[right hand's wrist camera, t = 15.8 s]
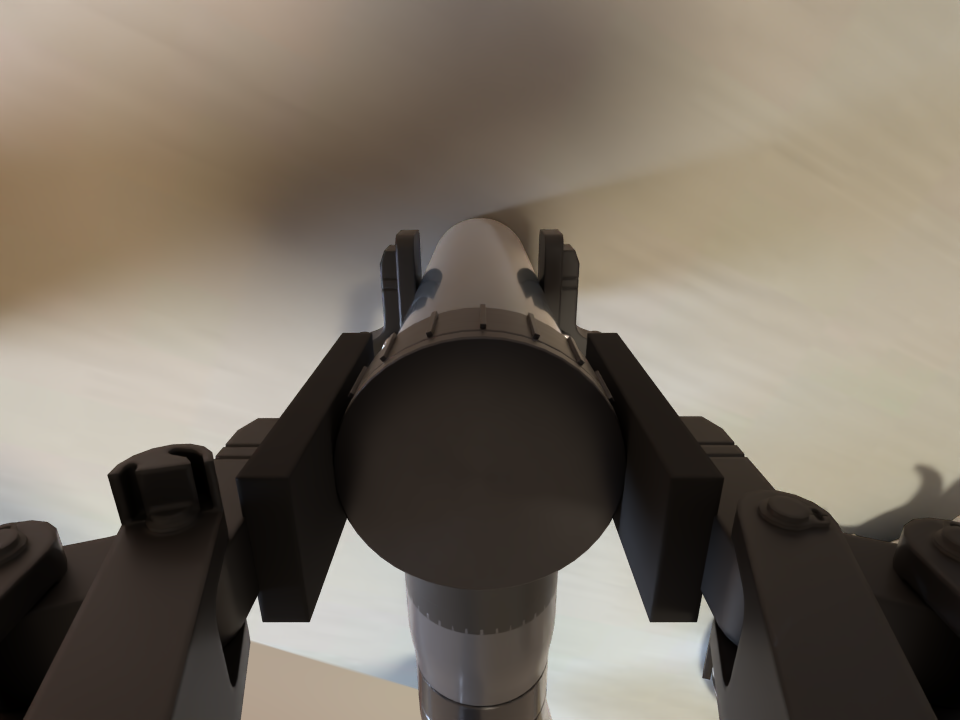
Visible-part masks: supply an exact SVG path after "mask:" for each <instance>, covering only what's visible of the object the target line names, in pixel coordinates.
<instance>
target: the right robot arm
mask: <svg viewBox="0 0 960 720" xmlns="http://www.w3.org/2000/svg"><path fill="white" fill-rule="evenodd" d="M373 359H374V349H373V336H372V333H342V335H341V336H340V337H339V339H338V340H337V341H336V343H335V344H334V345H333V347H332V348H331V349H330V351H329V352H328V353H327V355H326V356H325V357H324V359H323V360H322V361H321V363H320V364H319V366H318V367H317V368H316V370H315V371H314V372H313V374H312V375H311V376H310V378H309V379H308V380H307V382H306V383H305V384H304V386H303V387H302V388H301V390H300V391H299V392H298V394H297V395H296V397H295V398H294V399H293V401H292V402H291V403H290V405H289V406H288V407H287V409H286V410H285V411H284V413H283V414H282V415H281V417H280V418H258V419H256V420H254V421H253V422H251V423H249V424H248V425H246V426H244V427H243V428H241V429H239V430H238V431H237V432H236V433H235V434H234V435H233V436H232V438H231V439H230V440H229V441H228V442H227V443H226V447H223V448H222V449H221V450H220V452H219V453H218V454H217V455H216V459H213V454H212V452H211V451H210V450H208V449H207V448H206V447H204V446H199V445H194V444H173V445H168V446H163V447H158V448H153V449H150V450H147V451H145V452H142V453H139V454H136V455H134V456H132V457H130V458H128V459H127V460H125V461H123V462H121V463H120V464H118V465H117V466H116V467H115V468H114V469H113V470H112V471H111V472H110V473H109V474H108V479H109V482H110V486H111V489H112V493H113V496H114V500H115V503H116V506H117V510H118V513H119V517H120V520H121V524H122V526H121V528H120V530H119V532H118V534H117V535H115V536H111V537H107V538H102V539H97V540H92V541H86V542H81V543H76V544H71V545H66V546H62V543H61V540H60V537H59V534H58V532H57V529H56V528H55V527H54V526H52V525H51V524H50V523H48V522H42V521H33V520H31V521H23V522H16V523H8V524H3V525H0V720H241V712H242V704H243V696H244V688H245V680H246V673H247V665H248V657H249V649H250V637H249V630H248V625H247V620H246V618H247V616H248V614H249V612H250V610H251V608H252V606H253V604H254V602H255V600H256V598H257V596H258V600H259V606H260V611H261V616H262V621H263V622H310V620H311V617H312V614H313V611H314V609H315V606H316V603H317V600H318V597H319V595H320V592H321V589H322V586H323V583H324V581H325V578H326V575H327V572H328V570H329V567H330V564H331V561H332V558H333V556H334V553H335V550H336V547H337V544H338V542H339V539H340V536H341V533H342V531H343V528H344V525H345V522H346V519H347V517H346V514H345V512H344V510H343V508H342V506H341V504H340V501H339V498H338V494H337V491H336V486H335V477H334V468H333V450H334V443H335V438H336V434H337V431H338V428H339V425H340V422H341V420H342V418H343V415H344V413H345V411H346V409H347V407H348V405H349V403H350V401H351V399H352V398H350V397H348V395H349V393H350V391H351V390H352V388H353V386H354V384H355V382H356V380H357V378H358V376H359V375H360V373H361V371H362V369H363V367H364V366H366V367H369V365H370V364H371V362H372V361H373ZM586 359H587V361H588V362H589V364H590V365H591V367H592V369H593V370H594V372H595V371H597V370H598V371H599V373H600V375H601V377H602V379H603V380H604V382H605V384H606V386H607V388H608V390H609V392H610V394H611V395H612V397H613V399H614V402H612V403H611V405H612V407H613V409H614V411H615V413H616V415H617V418H618V420H619V422H620V425H621V427H622V431H623V435H624V439H625V443H626V451H627V465H626V474H625V483H624V491H623V495H622V498H621V500H620V503H619V506H618V508H617V511H616V513H615V514H614V516H613V520H614V523H615V526H616V529H617V531H618V534H619V537H620V540H621V543H622V545H623V548H624V551H625V554H626V557H627V559H628V562H629V565H630V568H631V570H632V573H633V576H634V579H635V582H636V584H637V587H638V590H639V593H640V596H641V598H642V601H643V604H644V607H645V610H646V612H647V615H648V618H649V621H650V622H697V619H698V614H699V609H700V604H701V598H702V594H703V596H704V598H705V600H706V602H707V604H708V606H709V608H710V610H711V612H712V614H713V616H714V620H713V625H712V630H711V635H710V640H709V645H708V650H707V654H706V659H705V664H704V670H703V677H702V678H705V679H709V680H710V677H711V672H712V668H713V671H714V679H715V687H716V695H717V703H718V711H719V719H720V720H960V522H956V521H951V520H942V519H934V518H922V519H913V520H911V521H910V522H908V523H907V524H906V525H904V527H903V530H902V533H901V536H900V539H899V542H898V544H897V543H891V542H886V541H881V540H876V539H871V538H866V537H861V536H856V535H851V534H847V533H843V532H842V531H841V529H840V527H839V525H838V523H837V522H836V521H835V520H834V518H833V517H832V516H831V515H830V514H829V513H828V512H827V511H825V510H824V509H822V508H821V507H819V506H818V505H817V504H815V503H813V502H811V501H809V500H806V499H804V498H802V497H799V496H797V495H794V494H790V493H785V492H781V491H777V490H775V489H774V488H773V487H772V485H771V484H770V483H769V482H768V481H767V480H766V479H765V477H764V476H763V475H762V474H761V473H760V472H759V470H758V469H757V468H756V467H755V466H754V465H753V464H752V462H751V461H750V460H749V459H748V458H747V457H745V456H744V453H743V452H742V451H741V450H740V448H739V447H738V446H737V445H734V442H733V440H732V439H731V438H730V437H729V436H728V435H727V433H726V432H725V431H724V430H723V429H722V428H721V427H719V426H717V425H715V424H714V423H712V422H710V421H709V420H707V419H705V418H704V417H702V416H678V415H677V413H676V412H675V410H674V409H673V408H672V406H671V405H670V404H669V402H668V401H667V400H666V398H665V397H664V396H663V394H662V393H661V392H660V390H659V389H658V388H657V386H656V385H655V384H654V382H653V381H652V379H651V378H650V377H649V375H648V374H647V373H646V371H645V370H644V369H643V367H642V366H641V365H640V363H639V362H638V361H637V359H636V358H635V357H634V355H633V354H632V353H631V351H630V350H629V349H628V347H627V346H626V344H625V343H624V342H623V340H622V339H621V338H620V336H619V335H618V334H617V333H587V344H586Z"/></svg>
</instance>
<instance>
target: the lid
mask: <svg viewBox="0 0 960 720" xmlns="http://www.w3.org/2000/svg"><path fill="white" fill-rule="evenodd" d="M348 397H350V398H352V399H351V401H350V403H349V405H348V407H347V409H346V411H345V413H344V415H343V418H342V420H341V422H340V425H339V428H338V431H337V434H336V438H335V443H334V450H333V468H334V477H335V486H336V491H337V494H338V498H339V501H340V504H341V506H342V508H343V510H344V512H345V514H346V517H347V519H348V520H349V522H350V523H351V525H352V526H353V528H354V529H355V531H356V532H357V534H358V535H359V536H360V537H361V538H362V539H363V541H364V542H365V543H366V544H367V545H368V546H369V547H370V548H371V549H372V550H373V551H374V552H376V553H377V554H378V555H379V556H380V557H381V558H383V559H384V560H386V561H387V562H389V563H390V564H391V565H393V566H394V567H396V568H398V569H400V570H402V571H404V572H405V573H407V574H409V575H411V576H414V577H416V578H419V579H421V580H424V581H427V582H430V583H434V584H437V585H441V586H446V587H451V588H457V589H468V590H495V589H502V588H509V587H514V586H518V585H523V584H527V583H530V582H533V581H536V580H538V579H541V578H544V577H546V576H548V575H550V574H552V573H554V572H556V571H558V570H561V569H562V568H564V567H565V566H567V565H568V564H570V563H571V562H573V561H575V560H576V559H577V558H578V557H580V556H581V555H582V554H583V553H584V552H586V551H587V550H588V549H589V548H590V547H591V546H592V545H593V544H594V543H595V542H596V541H597V540H598V539H599V537H600V536H601V535H602V533H603V532H604V531H605V529H606V528H607V526H608V525H609V524H610V522H611V520H612V518H613V516H614V514H615V513H616V511H617V508H618V506H619V503H620V500H621V498H622V495H623V491H624V483H625V474H626V465H627V451H626V443H625V439H624V435H623V431H622V427H621V425H620V422H619V420H618V418H617V415H616V413H615V411H614V409H613V407H612V405H611V403H612V402H614V399H613V397H612V395H611V394H610V392H609V390H608V388H607V386H606V384H605V382H604V380H603V379H602V377H601V375H600V373H599V371H598V370H597V371H595V372H594V370H593V369H592V367H591V365H590V364H589V362H588V361H587V359H586V358H585V357H584V355H583V354H582V353H581V352H580V351H579V349H578V347H577V345H576V343H575V341H574V339H573V338H572V337H571V336H569V337H568V338H566V337H565V336H564V335H562V334H561V333H559V332H558V331H557V330H555V329H554V328H552V327H551V326H549V325H547V324H545V323H543V322H541V321H539V320H537V319H535V318H534V314H532V313H528V315H524V314H521V313H518V312H514V311H509V310H504V309H498V308H486V304H480V307H477V308H462V309H456V310H450V311H446V312H442V313H439V314H438V313H437V311H434V312H432V313H431V316H430V317H428V318H425V319H423V320H421V321H419V322H417V323H414V324H413V325H411V326H410V327H408V328H406V329H405V330H403V331H402V332H400V333H399V334H398V335H396V334H395V333H393V334H392V335H391V336H390V338H389V340H388V342H387V344H386V345H385V346H384V347H383V348H382V349H381V351H380V352H379V353H378V354H377V355H376V356H375V358H374V359H373V361H372V362H371V364H370V365H369V367H366V366H364V367H363V369H362V371H361V373H360V375H359V376H358V378H357V380H356V382H355V384H354V386H353V388H352V390H351V391H350V393H349V395H348Z"/></svg>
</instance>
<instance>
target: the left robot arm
mask: <svg viewBox="0 0 960 720" xmlns="http://www.w3.org/2000/svg"><path fill="white" fill-rule="evenodd" d="M380 272H381V286H382V299H383V312H384V327H382V328H381V329H378V330H376V331H373V332H370V333H372V336H373V349H374V358H375V356H376V355H377V354H378V353H379V352H380V351H381V349H382V348H383V347H384V346H385V345H386V344H387V342H388V340H389V338H390V336H391V335H392V334H393V333H395V334H396V335H397V334H398V332H399V330H400V328H401V325H402V323H403V321H404V319H405V316H406V314H407V312H408V310H409V307H410V305H411V303H412V301H413V298H414V296H415V294H416V292H417V289H418V287H419V285H420V283H421V280H422V274H421V253H420V235H419V230H401V231H400V232H399V233H398V234H397V235H396V242H395V245H390V246H389V247H388V248H387V249H386V250H385V251H384V253H383V256H382V259H381V263H380ZM578 277H579V261H578V258H577V255H576V252H575V250H574V249H573V248H572V247H571V246H570V245H569V244H564V243H563V235H562V233H561V232H560V231H559V230H558V229H554V230H540V235H539V261H538V280H539V283H540V285H541V287H542V289H543V292H544V294H545V296H546V298H547V301H548V303H549V305H550V307H551V310H552V312H553V314H554V316H555V319H556V321H557V323H558V325H559V328H560V330H561V332H562V334H563V335H564V336H565V337H566V338H568V337H569V336H571V337H572V338H573V339H574V341H575V343H576V345H577V347H578V349H579V351H580V352H581V353H582V354H583V355H584V357H585V358H586V344H587V333H601V332H599V331H588V330H585V329H582V328H580V327H578V326H577V325H576V312H577V295H578ZM361 333H369V332H361ZM557 575H558V571H556V572H554V573H552V574H550V575H548V576H546V577H544V578H541V579H538V580H536V581H533V582H530V583H527V584H523V585H518V586H514V587H509V588H502V589H495V590H468V589H457V588H451V587H446V586H441V585H437V584H434V583H430V582H427V581H424V580H421V579H419V578H416V577H414V576H411V575H409V574H407V573H405V577H406V591H407V604H408V618H409V626H410V631H411V636H412V640H413V644H414V647H415V651H416V661H417V676H418V690H419V702H420V712H421V717H422V720H552V718H551V714H550V711H549V707H548V703H547V700H546V686H547V667H548V652H549V647H550V643H551V639H552V634H553V629H554V623H555V610H556V594H557Z"/></svg>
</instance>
